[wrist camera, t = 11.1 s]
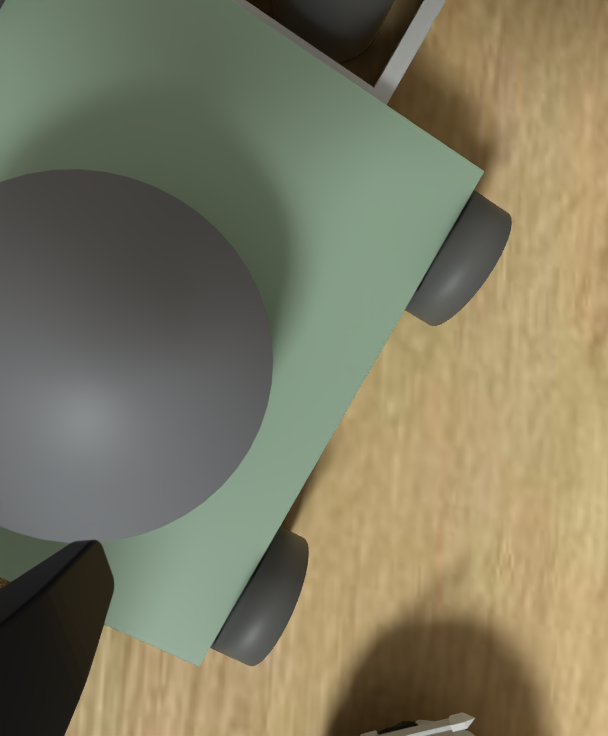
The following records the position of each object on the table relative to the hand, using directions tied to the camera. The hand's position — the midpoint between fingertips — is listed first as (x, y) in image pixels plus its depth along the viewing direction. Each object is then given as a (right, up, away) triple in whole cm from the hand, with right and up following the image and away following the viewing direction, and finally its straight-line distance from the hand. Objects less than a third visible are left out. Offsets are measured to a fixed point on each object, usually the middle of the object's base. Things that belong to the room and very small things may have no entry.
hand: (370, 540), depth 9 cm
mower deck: (-5, +8, +11) cm, 14 cm away
